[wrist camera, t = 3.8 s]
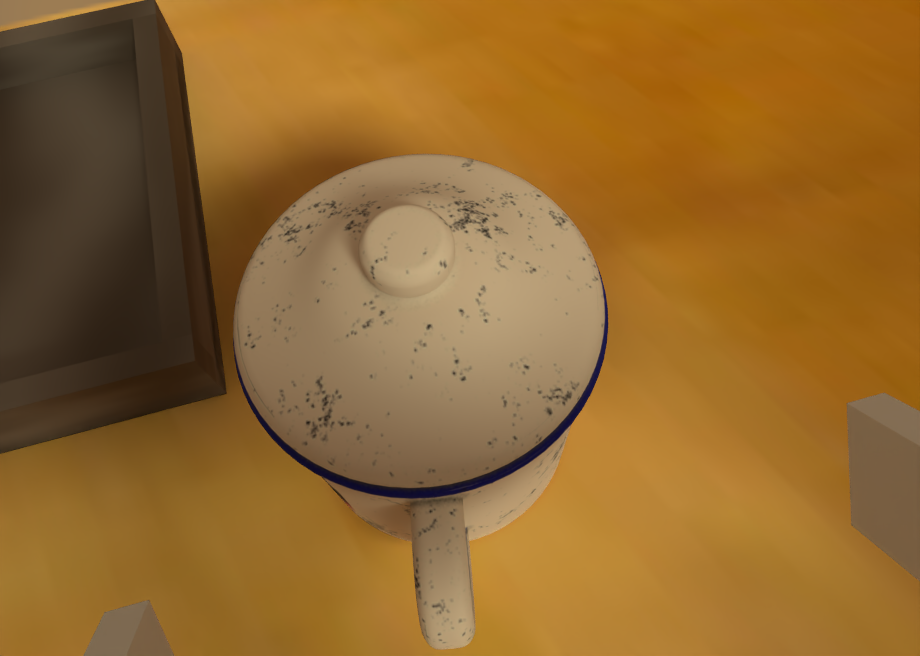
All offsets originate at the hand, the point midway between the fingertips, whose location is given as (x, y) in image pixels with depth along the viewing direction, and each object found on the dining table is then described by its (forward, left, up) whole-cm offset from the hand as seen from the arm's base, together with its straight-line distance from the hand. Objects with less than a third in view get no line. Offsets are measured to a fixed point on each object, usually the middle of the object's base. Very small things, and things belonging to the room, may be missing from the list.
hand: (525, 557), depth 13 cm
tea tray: (-21, +14, -10) cm, 27 cm away
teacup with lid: (-2, +5, -10) cm, 11 cm away
